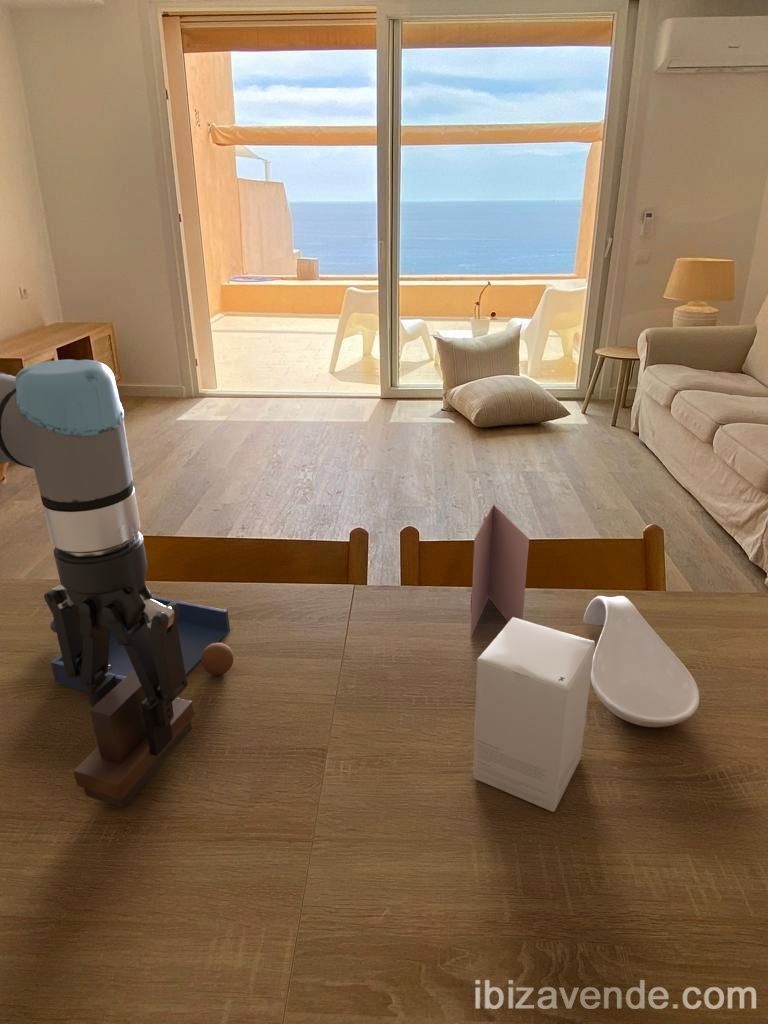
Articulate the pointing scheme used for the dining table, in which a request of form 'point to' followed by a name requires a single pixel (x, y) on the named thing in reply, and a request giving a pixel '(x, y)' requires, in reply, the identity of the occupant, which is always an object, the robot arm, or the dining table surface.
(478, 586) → the greeting card
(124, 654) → the dustpan
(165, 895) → the dining table surface
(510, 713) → the white product box
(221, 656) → the cork ball
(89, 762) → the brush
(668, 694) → the spoon rest
